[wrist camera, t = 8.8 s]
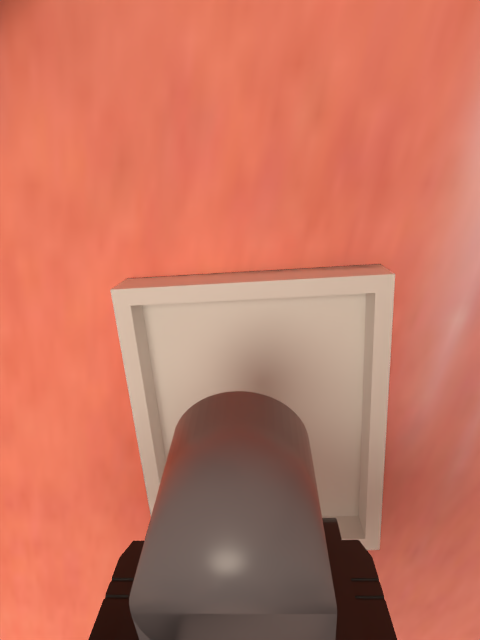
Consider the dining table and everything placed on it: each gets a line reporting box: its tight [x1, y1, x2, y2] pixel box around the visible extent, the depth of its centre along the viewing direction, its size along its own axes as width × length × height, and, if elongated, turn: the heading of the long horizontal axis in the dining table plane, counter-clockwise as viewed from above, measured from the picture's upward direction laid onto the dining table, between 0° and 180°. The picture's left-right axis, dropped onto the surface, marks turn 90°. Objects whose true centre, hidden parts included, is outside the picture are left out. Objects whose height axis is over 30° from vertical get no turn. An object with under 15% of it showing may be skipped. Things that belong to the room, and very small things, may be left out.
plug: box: [129, 391, 337, 640], centre depth 10 cm, size 4×9×4 cm, turn 3°
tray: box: [111, 264, 395, 550], centre depth 18 cm, size 11×14×2 cm
